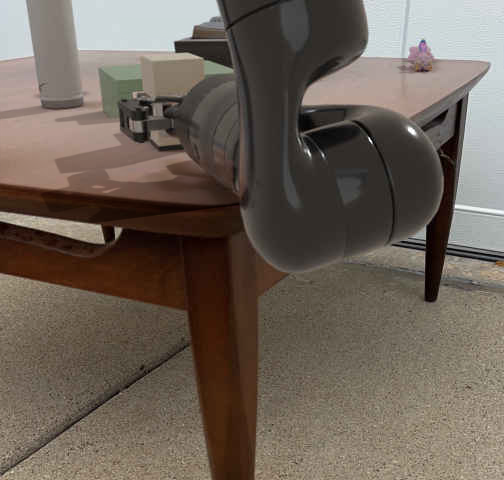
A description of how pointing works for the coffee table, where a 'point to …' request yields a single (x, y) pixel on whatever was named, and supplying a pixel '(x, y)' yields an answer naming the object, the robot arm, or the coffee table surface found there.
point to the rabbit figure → (421, 56)
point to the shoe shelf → (134, 83)
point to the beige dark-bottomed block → (169, 84)
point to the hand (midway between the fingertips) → (186, 101)
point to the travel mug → (55, 53)
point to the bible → (207, 43)
